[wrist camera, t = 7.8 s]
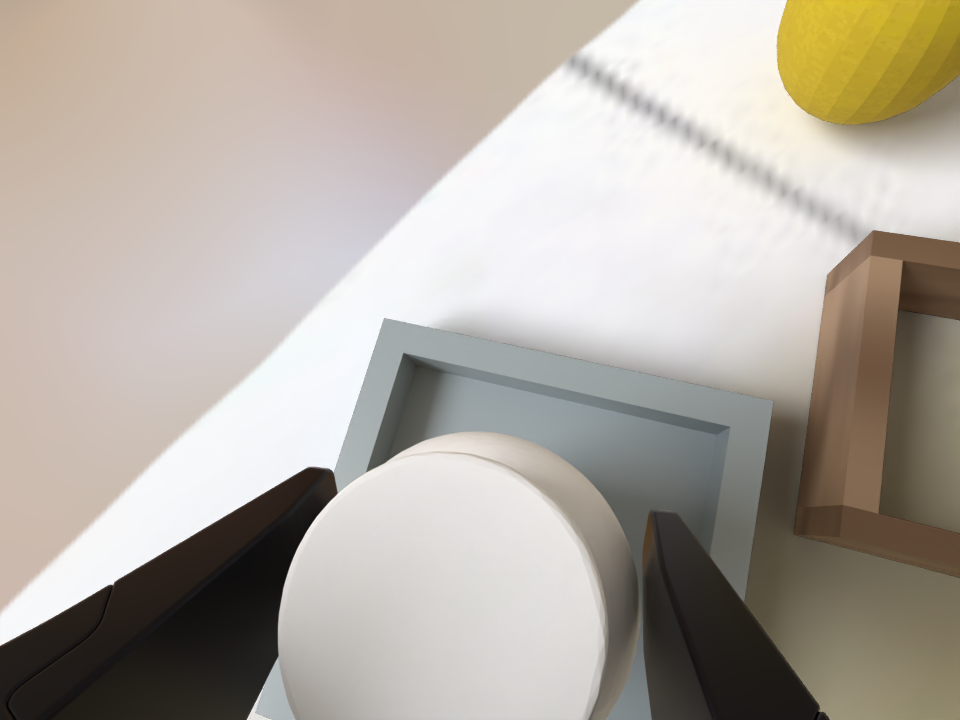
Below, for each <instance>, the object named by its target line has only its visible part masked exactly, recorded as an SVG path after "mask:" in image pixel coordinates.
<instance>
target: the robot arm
mask: <svg viewBox="0 0 960 720" xmlns="http://www.w3.org/2000/svg"><path fill="white" fill-rule="evenodd" d="M337 494H338V492H337V486H336V481H335V476H334V473H333V471H332V470H330V469H328V468H320V467H308V468H306V469H304V470H302V471H301V472H299V473H297V474H296V475H294V476H292V477H291V478H289V479H287V480H286V481H284V482H282V483H280V484H279V485H277V486H275V487H274V488H272V489H270V490H269V491H267V492H265V493H264V494H262V495H260V496H259V497H257V498H255V499H253V500H252V501H250V502H248V503H247V504H245V505H243V506H242V507H240V508H238V509H237V510H235V511H233V512H232V513H230V514H228V515H226V516H225V517H223V518H221V519H220V520H218V521H216V522H215V523H213V524H211V525H210V526H208V527H206V528H205V529H203V530H201V531H199V532H198V533H196V534H194V535H193V536H191V537H189V538H188V539H186V540H184V541H183V542H181V543H179V544H178V545H176V546H174V547H172V548H171V549H169V550H167V551H166V552H164V553H162V554H161V555H159V556H157V557H156V558H154V559H152V560H151V561H149V562H147V563H145V564H144V565H142V566H140V567H139V568H137V569H135V570H134V571H132V572H130V573H129V574H127V575H125V576H123V577H122V578H120V579H118V580H117V581H115V583H114V585H108V586H106V587H105V588H103V589H101V590H100V591H98V592H96V593H95V594H93V595H91V596H89V597H88V598H86V599H84V600H83V601H81V602H79V603H77V604H76V605H74V606H72V607H70V608H69V609H67V610H65V611H63V612H62V613H60V614H58V615H56V616H55V617H53V618H51V619H49V620H48V621H46V622H44V623H42V624H40V625H38V626H37V627H35V628H33V629H31V630H29V631H27V632H25V633H23V634H22V635H20V636H18V637H16V638H14V639H12V640H10V641H9V642H7V643H5V644H3V645H1V646H0V720H247V718H248V716H249V714H250V712H251V710H252V708H253V706H254V704H255V702H256V700H257V698H258V696H259V694H260V692H261V690H262V688H263V686H264V684H265V682H266V680H267V678H268V676H269V674H270V672H271V670H272V668H273V666H274V664H275V662H276V660H277V658H278V656H279V652H278V620H279V610H280V605H281V599H282V594H283V588H284V584H285V581H286V578H287V574H288V571H289V568H290V565H291V562H292V560H293V558H294V555H295V553H296V551H297V549H298V546H299V545H300V543H301V541H302V539H303V538H304V536H305V534H306V532H307V530H308V529H309V527H310V526H311V524H312V523H313V521H314V520H315V519H316V517H317V516H318V515H319V514H320V512H321V511H322V510H323V509H324V508H325V507H326V505H327V504H328V503H329V502H330V501H331V500H332V499H333V498H334V497H335V496H336V495H337ZM642 581H643V649H644V661H645V671H646V679H647V686H648V694H649V702H650V710H651V717H652V720H830V719H829V718H828V716H827V715H826V714H825V713H824V712H819V710H820V706H819V704H818V703H817V702H816V700H815V699H814V698H813V696H812V695H811V693H810V692H809V691H808V689H807V688H806V687H805V685H804V684H803V683H802V681H801V680H800V678H799V677H798V676H797V674H796V673H795V672H794V670H793V669H792V668H791V666H790V665H789V663H788V662H787V661H786V659H785V658H784V657H783V655H782V654H781V653H780V651H779V650H778V648H777V647H776V646H775V644H774V643H773V642H772V640H771V639H770V638H769V636H768V635H767V633H766V632H765V631H764V629H763V628H762V627H761V625H760V624H759V623H758V621H757V620H756V618H755V617H754V616H753V614H752V613H751V612H750V610H749V609H748V608H747V606H746V605H745V603H744V602H743V601H742V599H741V598H740V597H739V595H738V594H737V593H736V591H735V590H734V588H733V587H732V586H731V584H730V583H729V582H728V580H727V579H726V578H725V576H724V575H723V573H722V572H721V571H720V569H719V568H718V567H717V565H716V564H715V563H714V561H713V560H712V558H711V557H710V556H709V554H708V553H707V552H706V550H705V549H704V548H703V546H702V545H701V543H700V542H699V541H698V539H697V538H696V537H695V535H694V534H693V533H692V531H691V530H690V528H689V527H688V526H687V524H686V523H685V522H684V520H683V519H682V518H681V516H680V515H679V514H678V513H677V512H675V511H671V510H662V509H651V510H650V512H649V515H648V520H647V526H646V532H645V538H644V544H643V554H642Z"/></svg>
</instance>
